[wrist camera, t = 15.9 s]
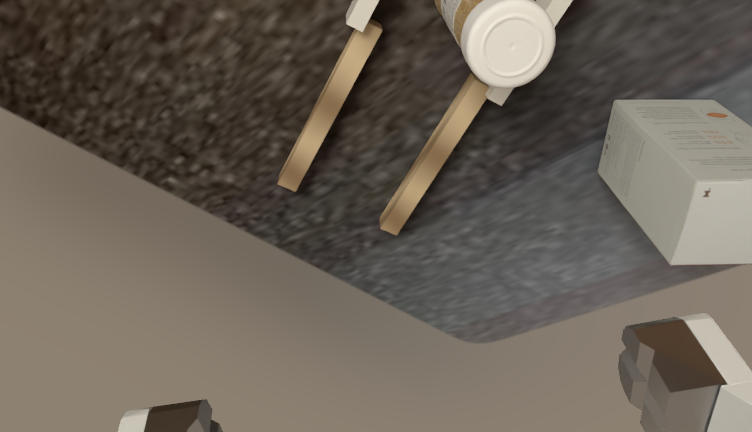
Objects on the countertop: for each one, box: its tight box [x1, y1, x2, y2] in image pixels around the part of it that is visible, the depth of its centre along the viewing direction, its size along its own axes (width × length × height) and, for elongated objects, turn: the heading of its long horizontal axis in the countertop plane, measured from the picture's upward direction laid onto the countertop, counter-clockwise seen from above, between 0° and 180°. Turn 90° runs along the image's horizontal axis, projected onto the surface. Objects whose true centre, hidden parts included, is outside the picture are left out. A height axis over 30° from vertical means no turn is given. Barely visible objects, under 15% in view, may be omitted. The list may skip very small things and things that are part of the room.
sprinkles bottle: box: [435, 0, 556, 88], centre depth 37 cm, size 5×5×14 cm
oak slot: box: [278, 18, 489, 235], centre depth 47 cm, size 14×10×2 cm
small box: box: [598, 100, 752, 266], centre depth 43 cm, size 8×6×13 cm
